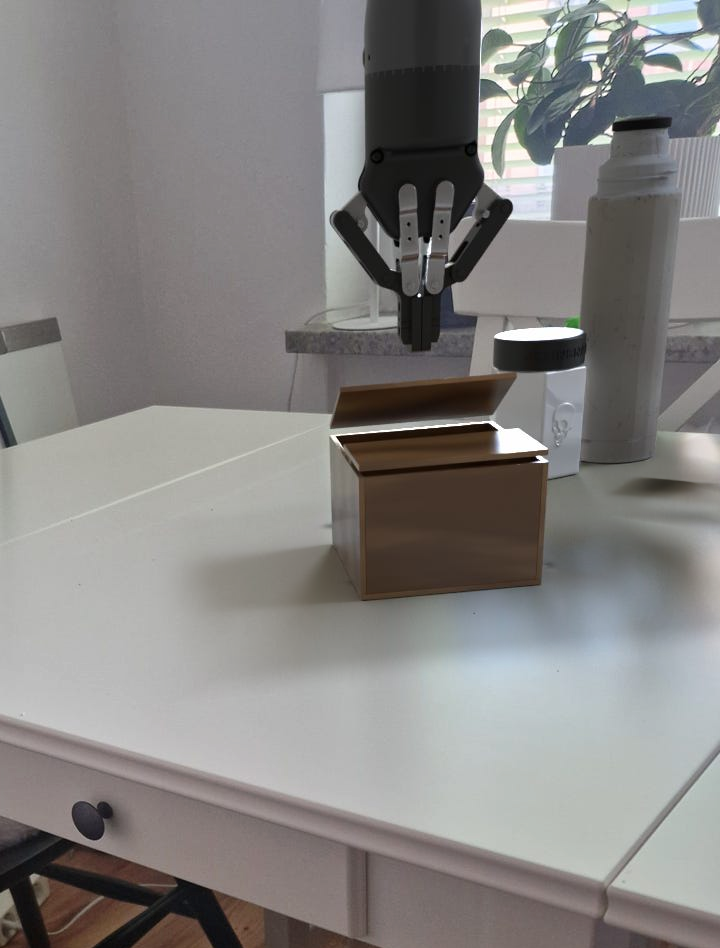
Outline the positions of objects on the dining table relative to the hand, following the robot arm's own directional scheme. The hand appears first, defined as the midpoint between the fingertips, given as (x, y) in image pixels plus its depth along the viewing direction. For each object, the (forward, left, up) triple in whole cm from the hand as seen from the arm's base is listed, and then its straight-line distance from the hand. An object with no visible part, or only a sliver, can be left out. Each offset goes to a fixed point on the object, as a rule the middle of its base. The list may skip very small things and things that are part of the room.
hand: (418, 350), depth 84 cm
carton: (+3, +3, -14) cm, 15 cm away
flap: (0, 0, -4) cm, 4 cm away
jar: (-26, -3, -15) cm, 30 cm away
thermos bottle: (-35, +1, -15) cm, 38 cm away
